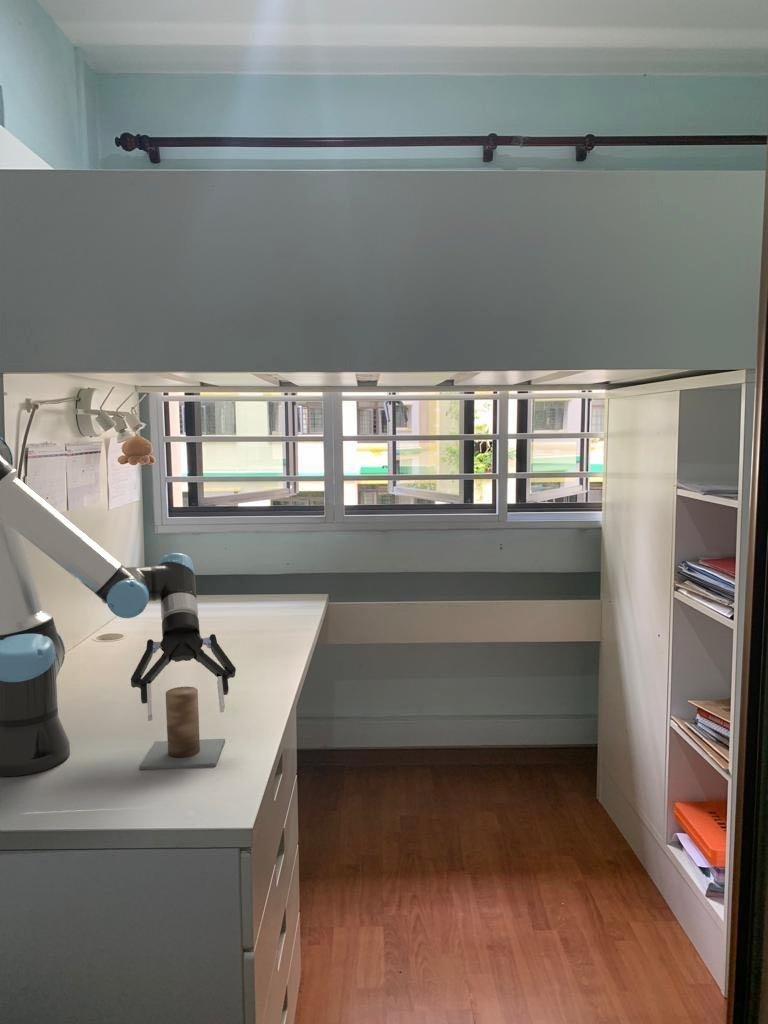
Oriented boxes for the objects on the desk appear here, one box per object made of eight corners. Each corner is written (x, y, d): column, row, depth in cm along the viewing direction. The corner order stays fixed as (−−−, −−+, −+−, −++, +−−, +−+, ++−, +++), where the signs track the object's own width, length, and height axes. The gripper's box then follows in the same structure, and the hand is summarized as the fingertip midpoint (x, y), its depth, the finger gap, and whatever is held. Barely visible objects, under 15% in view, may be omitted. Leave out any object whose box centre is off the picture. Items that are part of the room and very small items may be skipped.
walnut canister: (164, 758, 145) (162, 697, 144) (171, 746, 151) (169, 687, 150) (196, 757, 145) (194, 696, 144) (202, 745, 151) (200, 686, 150)
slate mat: (139, 769, 142) (139, 766, 142) (154, 744, 154) (154, 741, 154) (215, 766, 143) (215, 763, 142) (225, 741, 154) (225, 738, 154)
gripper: (238, 624, 167) (250, 714, 154) (118, 634, 160) (119, 729, 147) (241, 605, 161) (253, 697, 149) (116, 614, 154) (117, 712, 141)
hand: (186, 713), depth 148 cm, fingers open, 13 cm apart
